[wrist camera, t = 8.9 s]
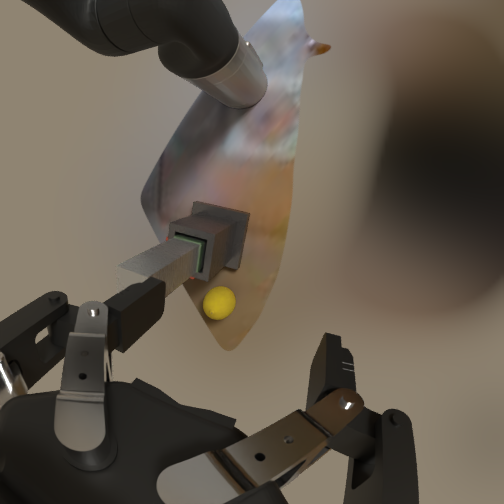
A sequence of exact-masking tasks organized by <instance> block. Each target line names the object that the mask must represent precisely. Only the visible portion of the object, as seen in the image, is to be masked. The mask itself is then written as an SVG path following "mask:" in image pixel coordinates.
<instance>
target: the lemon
mask: <svg viewBox="0 0 504 504" xmlns="http://www.w3.org/2000/svg"><path fill="white" fill-rule="evenodd" d="M235 304H236V299H235V295H234V293H233V292H232V291H231V290H230V289H229V288H227V287H223V286H218V287H215V288H213V289H211V290H210V291H209V292H208V293H207V294H206V296H205V298H204V301H203V309H204V312H205V313H206V315H207V316H208V317H210V318H212V319H215V320H221V319H224V318H226V317H227V316H229V315H230V314H231V313H232V311H233V310H234V308H235Z"/></svg>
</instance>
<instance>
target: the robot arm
mask: <svg viewBox="0 0 504 504" xmlns="http://www.w3.org/2000/svg"><path fill="white" fill-rule="evenodd" d="M22 1H24V2H25V3H27V4H28V5H30V6H31V7H33V8H34V9H36V10H37V11H39V12H40V13H42V14H43V15H44V16H46V17H47V18H48V19H50V20H51V21H53V22H54V23H55V24H57V25H58V26H59V27H60V28H62V29H63V30H64V31H66V32H67V33H69V34H70V35H71V36H72V37H74V38H75V39H76V40H78V41H79V42H81V43H82V44H83V45H85V46H87V47H88V48H89V49H91V50H93V51H95V52H97V53H99V54H102V55H105V56H114V57H115V56H124V55H128V54H131V53H135V52H138V51H141V50H145V49H148V48H152V47H155V46H158V55H159V59H160V61H161V62H162V64H163V65H164V67H166V68H167V69H168V70H169V71H171V72H173V73H174V74H176V75H178V76H179V77H181V78H183V79H184V80H186V81H188V82H190V83H191V84H193V85H195V86H196V87H198V88H199V89H201V90H203V91H204V92H206V93H207V94H209V95H211V96H212V97H214V98H215V99H217V100H218V101H220V102H221V103H222V104H224V105H226V106H228V107H230V108H235V109H243V108H247V107H250V106H252V105H254V104H256V103H257V102H258V101H259V100H261V98H262V97H263V96H264V94H265V92H266V90H267V77H266V74H265V73H264V71H263V63H262V62H261V60H260V58H259V56H258V55H257V53H256V51H255V50H254V48H253V46H252V45H251V43H250V42H248V41H245V40H244V39H243V38H242V36H241V35H240V33H239V32H238V30H237V29H236V27H235V26H234V24H233V22H232V20H231V17H230V15H229V12H228V10H227V8H226V6H225V4H224V3H223V1H222V0H22ZM165 292H166V283H165V281H162V280H159V279H157V278H154V277H150V278H148V279H147V280H145V281H144V282H142V283H141V282H139V283H135V284H132V285H130V286H128V287H127V288H125V289H124V290H122V291H120V292H119V293H117V294H116V295H114V296H113V297H111V298H110V299H108V300H106V301H105V302H104V303H101V302H98V301H89V302H86V303H84V304H82V305H81V306H80V307H78V306H74V305H70V304H68V299H67V295H66V294H64V293H63V292H59V291H52V292H48V293H46V294H44V295H43V296H41V297H39V298H38V299H36V300H34V301H33V302H31V303H30V304H28V305H27V306H25V307H23V308H21V309H20V310H18V311H17V312H15V313H13V314H12V315H10V316H9V317H7V318H6V319H4V320H3V321H1V322H0V504H288V502H287V501H286V499H285V497H284V496H283V494H282V492H281V489H282V488H283V487H285V486H286V485H288V484H289V483H290V482H292V481H293V480H294V479H295V478H297V477H298V476H299V475H300V474H301V473H302V472H303V471H305V470H306V469H307V468H309V467H310V466H311V465H313V464H314V463H315V462H316V461H318V460H319V459H320V458H321V457H322V456H324V455H325V454H326V453H327V452H328V451H330V450H331V449H333V450H335V451H338V452H340V453H342V454H344V455H346V456H349V462H348V472H347V480H346V488H345V496H344V502H343V504H419V492H418V476H417V463H416V453H415V445H414V437H413V430H412V423H411V420H410V418H409V417H408V416H407V415H406V414H405V413H404V412H402V411H400V410H397V409H388V410H386V411H385V412H384V413H383V414H382V415H381V414H378V413H376V412H374V411H371V410H369V409H367V408H366V407H364V400H363V398H362V397H361V396H360V395H359V394H358V393H357V392H356V382H355V372H354V366H353V365H354V362H353V356H352V354H351V353H350V351H349V350H348V349H346V348H342V347H341V337H340V336H337V335H334V334H330V333H325V334H324V336H323V338H322V340H321V343H320V345H319V347H318V350H317V352H316V354H315V356H314V359H313V362H312V365H311V369H310V379H309V387H308V395H307V403H306V411H304V412H303V411H302V410H301V409H298V410H296V411H294V412H292V413H290V414H289V415H287V416H285V417H284V418H282V419H280V420H278V421H277V422H275V423H274V424H271V425H270V426H268V427H266V428H264V429H262V430H261V431H259V432H257V433H255V434H253V435H251V436H249V437H248V436H247V435H246V434H244V433H243V432H242V431H240V430H239V429H237V428H236V427H234V425H235V422H236V419H234V418H231V417H228V416H225V415H222V414H219V413H216V412H214V411H211V410H206V409H200V408H195V407H190V406H185V405H181V404H179V403H177V402H176V401H175V400H173V399H172V398H171V397H169V396H168V395H166V394H165V393H164V392H162V391H161V390H160V389H158V388H156V387H154V386H152V385H150V384H148V383H146V382H144V381H142V380H140V379H138V378H136V379H135V380H134V381H133V382H132V383H126V382H118V381H113V365H112V351H113V350H114V349H116V350H118V351H120V352H122V353H124V352H125V351H126V350H127V349H128V348H130V347H131V345H133V344H134V343H135V342H136V341H137V340H138V339H139V338H140V337H141V336H142V335H143V334H144V333H145V332H146V331H148V330H149V329H150V328H151V327H152V326H153V325H154V324H155V323H156V322H157V321H158V320H159V319H160V318H161V316H162V314H163V312H164V305H165ZM46 327H47V329H48V333H49V334H48V335H47V336H46V337H45V338H43V339H42V340H41V341H39V342H38V343H37V344H36V343H35V338H36V335H37V334H38V333H39V332H40V331H42V330H43V329H44V328H46ZM64 357H65V359H64V366H63V373H62V380H61V389H60V390H57V391H50V392H43V393H35V394H27V393H28V390H29V389H30V388H31V387H32V386H33V385H34V384H35V383H36V382H37V381H39V380H40V379H41V377H43V376H44V375H45V374H46V373H47V372H48V371H49V370H51V369H52V368H53V367H54V366H55V365H56V364H57V363H58V362H59V361H60V360H62V359H63V358H64Z"/></svg>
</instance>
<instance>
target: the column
mask: <svg viewBox="0 0 504 504" xmlns="http://www.w3.org/2000/svg"><path fill="white" fill-rule="evenodd" d="M206 245H207V240H206V239H202V238H198V237H195V236H191V235H187V234H183V233H182V234H180V235H175V236H174V238H171V239H169V240H167V241H165V242H163V243H161V244H159V245H157V246H155V247H153V248H151V249H149V250H147V251H145V252H143V253H140V254H138V255H136V256H134V257H132V258H131V259H128V260H126V261H125V262H123V263H121V264H119V265H117V266H116V281H117V293H119V292H120V291H122V290H124V289H125V288H127V287H128V286H130V285H132V284H135V283H139V282H141V283H142V282H144V281H145V280H147V279H148V278H150V277H154V278H157V279H159V280H162V281H165V283H166V292H165V298H166V297H167V296H168V295H169V294H170V293H172V292H173V291H174V290H175V289H176V288H178V287H179V286H180V285H181V284H182V283H184V282H185V281H186V280H187V279H189V278H190V277H191V276H192V275H193V274H195V273H196V272H199V271H200V269H201V268H202V267H203V266H204V259H205V252H206Z"/></svg>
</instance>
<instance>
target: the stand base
mask: <svg viewBox="0 0 504 504" xmlns="http://www.w3.org/2000/svg"><path fill="white" fill-rule="evenodd" d="M249 216H250V213H247V212H243V211H239V210H234V209H230V208H225V207H221V206H217V205H212V204H208V203H203V202H198V201H196V202H193V208H192V215H190V216H187V217H185V218H182V219H179V220H176V221H174V222H171V223H170V225H169V235H168V237H166V241H167V240H169V239H171V238H174V236H175V235H180V234H182V233H183V234H187V235H191V236H195V237H198V238H202V239H206V240H207V245H206V252H205V259H204V266H203V267H202V268H201V269H200V271H199V272H196V273H195V274H193V275H192V276H191V277H190V278H191V279H195V278H197V279H200V280H204V281H207V282H208V281H209V280H210V279H211V278H212V277H214V276H215V275H216V274H217V273H218V272H219V271H220V270H221V269H222V268H223V267H224V266H226V267H229V268H233V269H236V270H238V268H239V267H240V263H241V257H242V252H243V247H244V242H245V237H246V232H247V227H248V221H249Z"/></svg>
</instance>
